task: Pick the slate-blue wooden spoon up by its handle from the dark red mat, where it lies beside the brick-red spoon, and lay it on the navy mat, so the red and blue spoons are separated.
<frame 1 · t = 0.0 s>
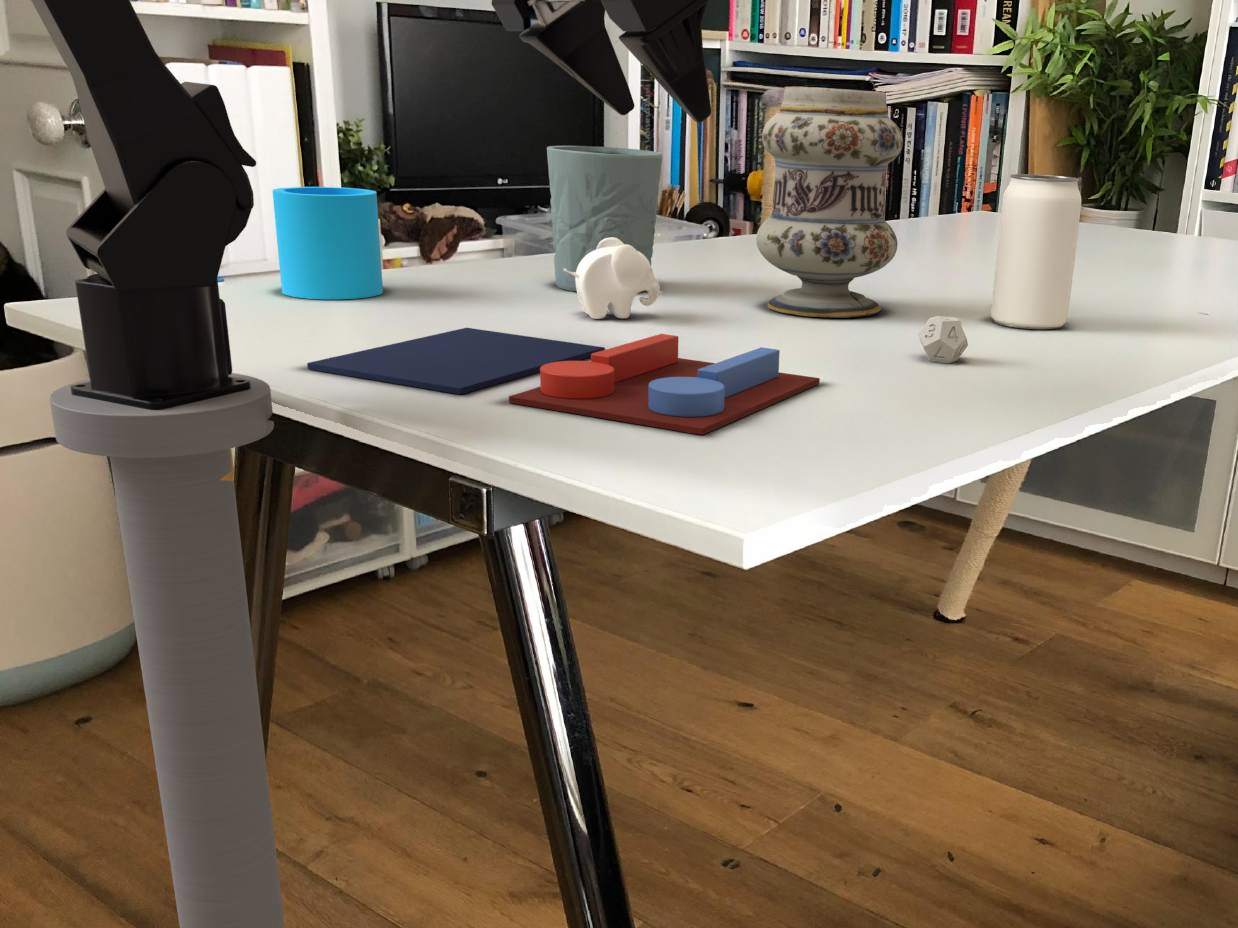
hand: (664, 115, 83), 16 cm above the table, tool tilted 35°, fingers open, 9 cm apart
red spoon: (617, 378, 83), resting on red mat
apothecary jar: (823, 311, 114), on the table
blue mat: (464, 360, 87), on the table
red mat: (672, 393, 81), on the table
green plant pot: (605, 288, 120), on the table
blue spoon: (722, 394, 80), resting on red mat
game die: (941, 362, 95), on the table
can: (1027, 325, 112), on the table
elephant figurine: (613, 318, 106), on the table
mug: (330, 290, 112), on the table
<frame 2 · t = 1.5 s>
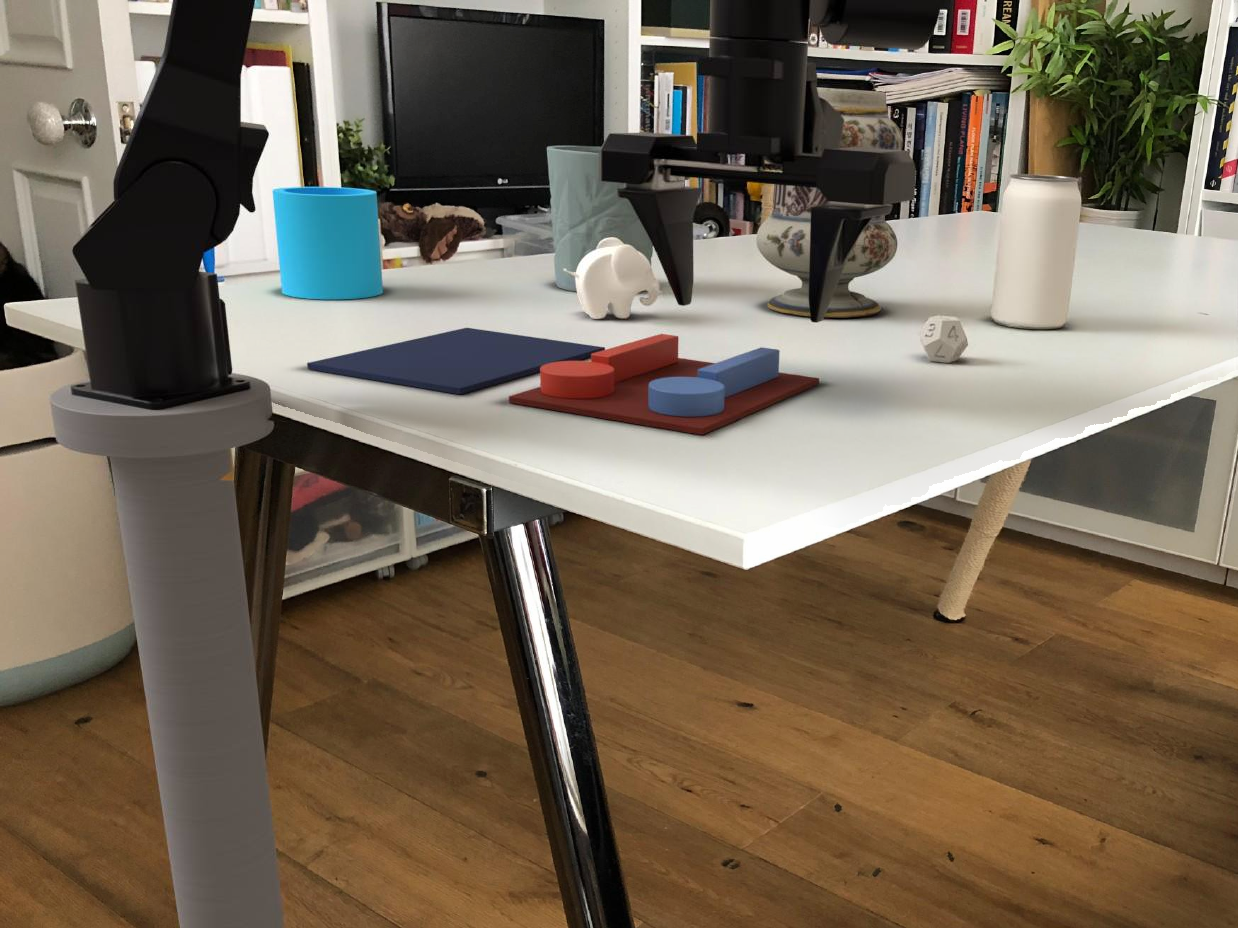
hand: (749, 313, 81), 5 cm above the table, tool pointing down, fingers open, 9 cm apart
nothing on the table moved.
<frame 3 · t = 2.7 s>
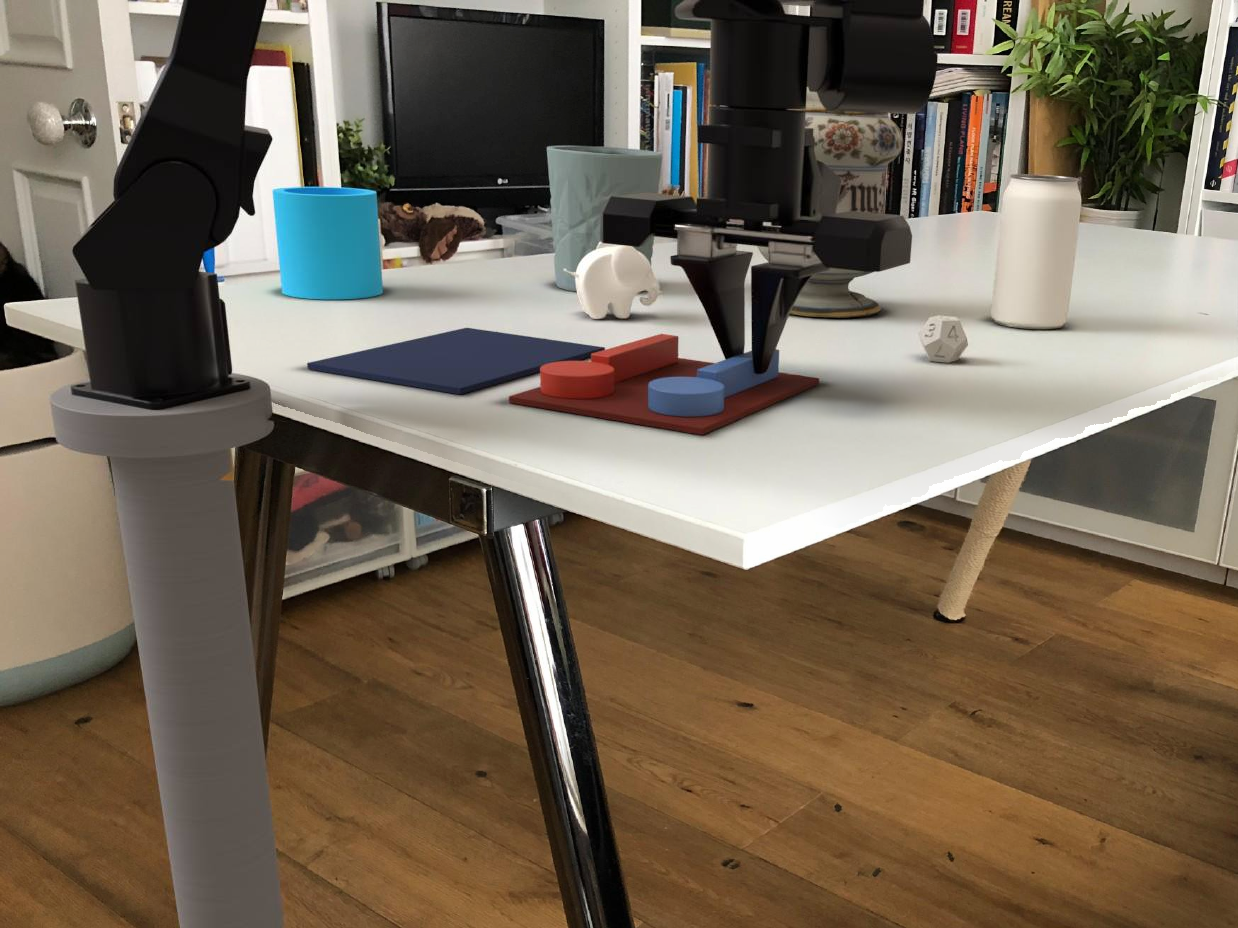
hand: (748, 371, 83), 1 cm above the table, tool pointing down, fingers closed on blue spoon, 1 cm apart
blue spoon: (722, 394, 80), resting on red mat, touching gripper
everything else where it was.
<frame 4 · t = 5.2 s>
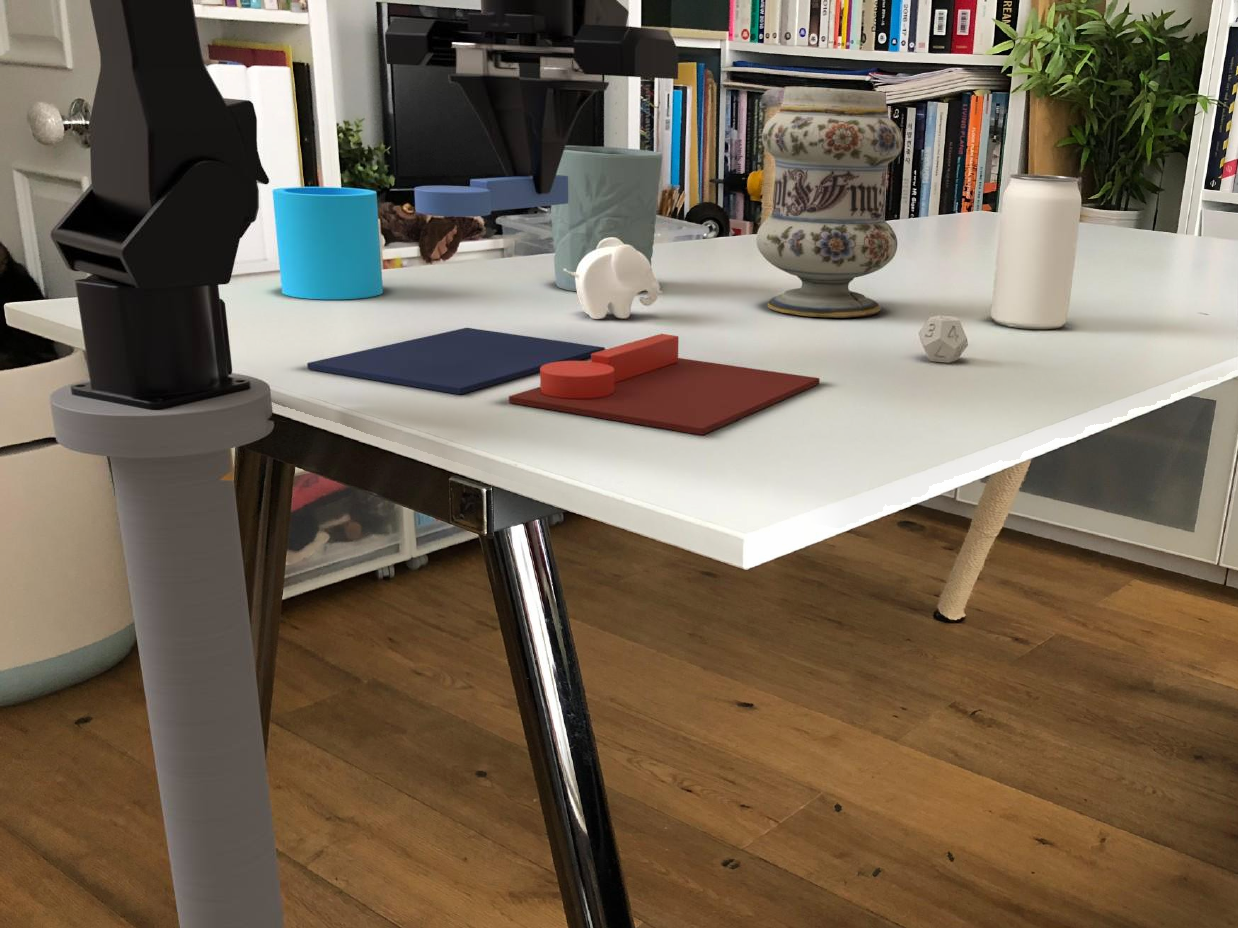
hand: (532, 192, 85), 11 cm above the table, tool pointing down, fingers closed on blue spoon
blue spoon: (499, 208, 83), point 10 cm above the table, touching gripper
everything else where it was.
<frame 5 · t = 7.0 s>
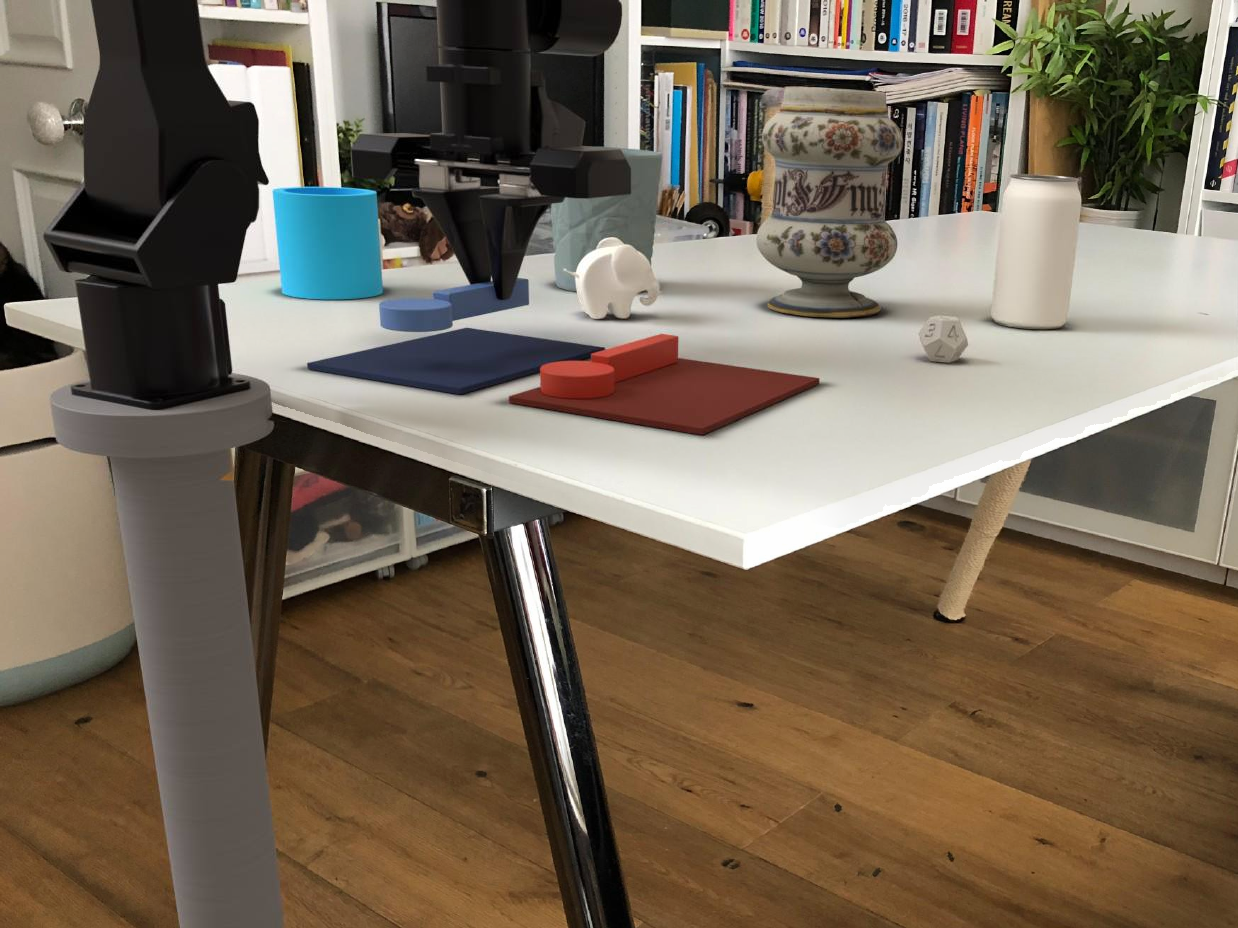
hand: (493, 298, 89), 4 cm above the table, tool pointing down, fingers closed on blue spoon
blue spoon: (462, 316, 86), point 3 cm above the table, touching gripper
everything else where it was.
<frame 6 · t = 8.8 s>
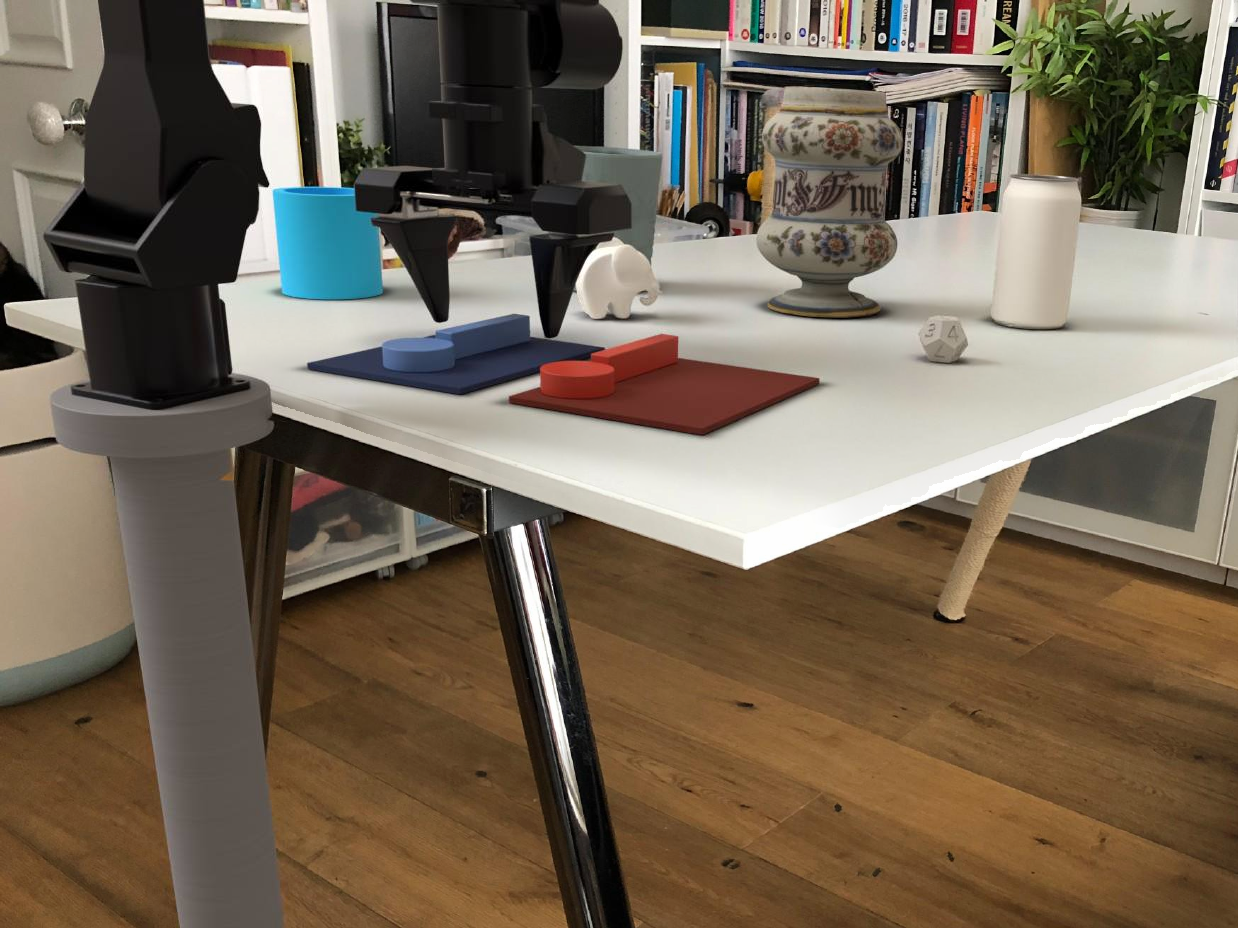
hand: (495, 329, 90), 2 cm above the table, tool pointing down, fingers open, 9 cm apart
blue spoon: (463, 354, 87), resting on blue mat
everything else where it was.
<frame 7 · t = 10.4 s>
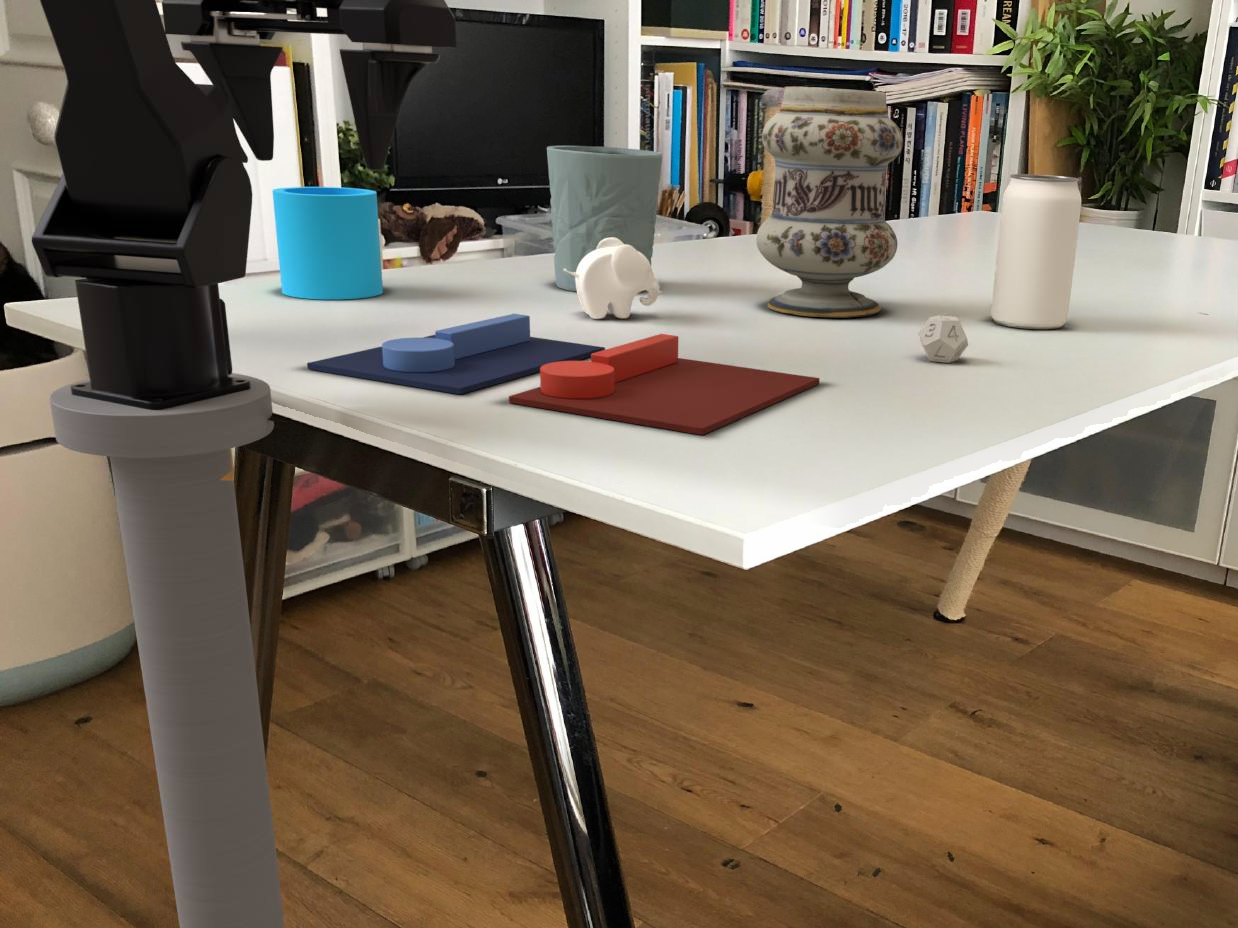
hand: (319, 165, 84), 12 cm above the table, tool pointing down, fingers open, 9 cm apart
nothing on the table moved.
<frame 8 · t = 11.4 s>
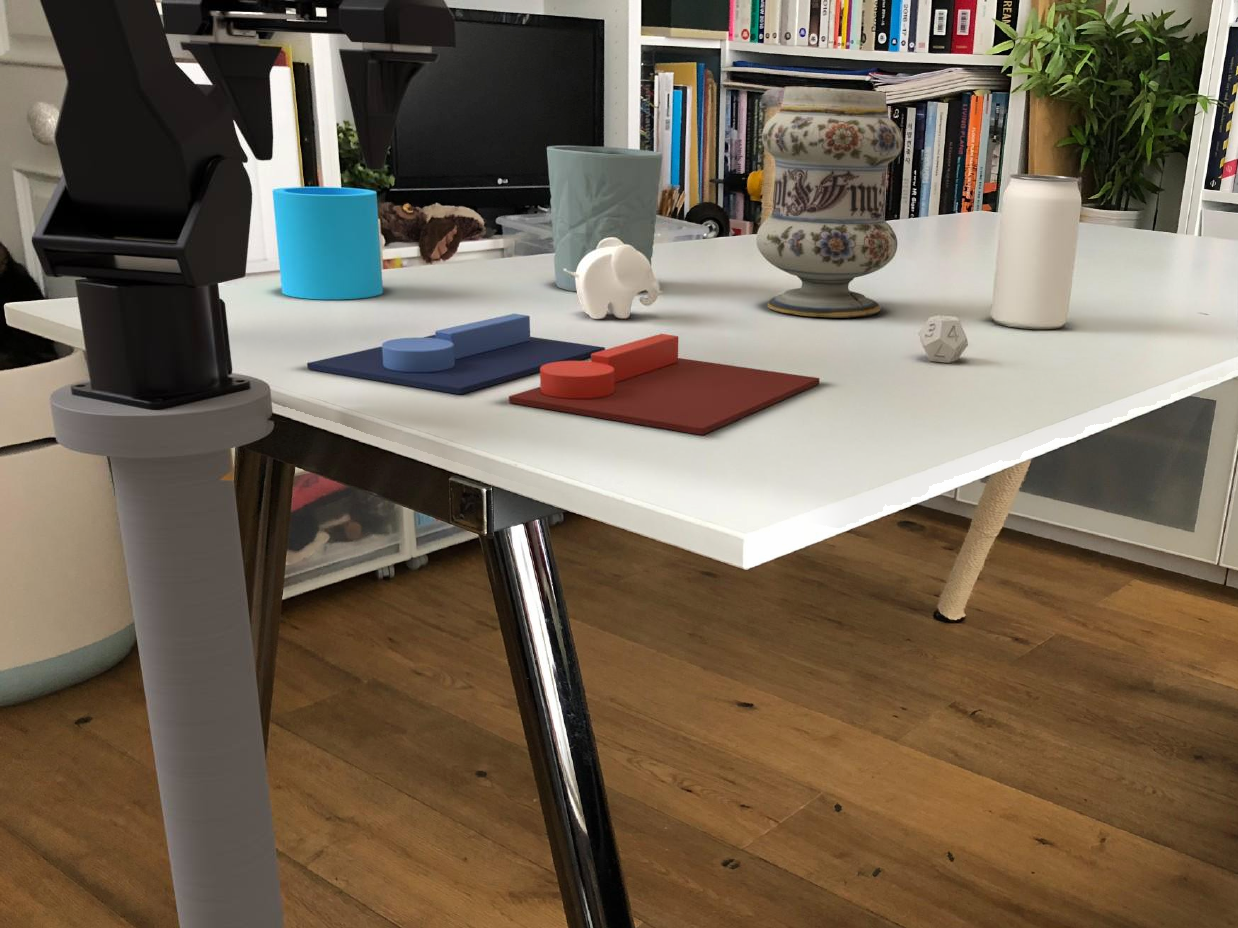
hand: (318, 165, 84), 12 cm above the table, tool pointing down, fingers open, 9 cm apart
nothing on the table moved.
at the end: blue spoon inside the target area on the blue mat (0.0 cm from its centre), point 0.4 cm above the blue mat's base; red spoon inside the target area on the red mat (4.0 cm from its centre), point 0.4 cm above the red mat's base; the gripper is holding nothing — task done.
